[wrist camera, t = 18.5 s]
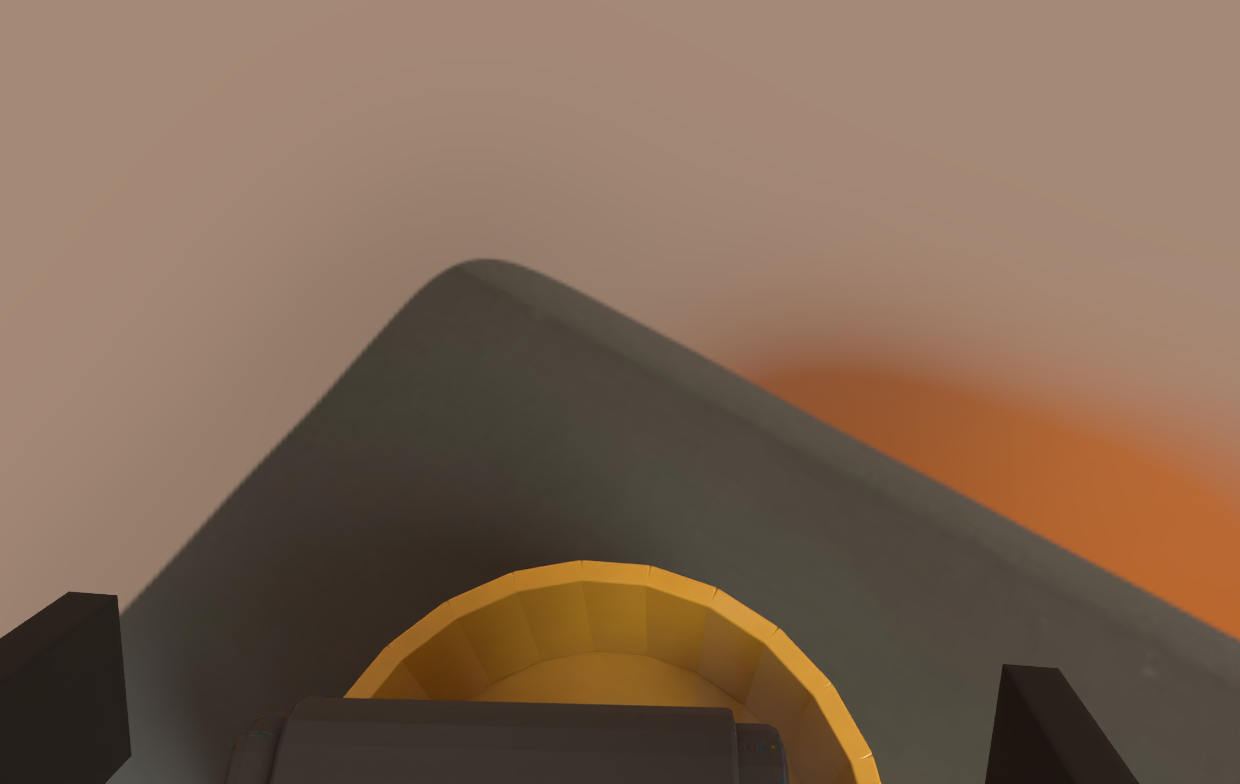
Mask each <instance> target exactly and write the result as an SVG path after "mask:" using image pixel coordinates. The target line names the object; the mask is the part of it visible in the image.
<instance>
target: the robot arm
mask: <svg viewBox="0 0 1240 784" xmlns="http://www.w3.org/2000/svg"><path fill="white" fill-rule="evenodd" d="M130 757H131V747H130V735H129V724H128V713H127V701H126V690H125V678H124V667H123V655H122V644H121V633H120V621H119V610H118V598H117V595H106V594H93V593H80V592H68V593H66V594H65V595H63V596H62V597H60V598H59V599H57V600H56V601H55V602H53V603H52V604H50V605H49V606H47V607H46V608H44V609H43V610H41V611H40V612H38V613H37V614H35V615H34V616H33V617H31V618H30V619H28V620H27V621H25V622H24V623H22V624H21V625H19V626H18V627H17V628H15V629H13V630H12V631H11V632H9V633H8V634H6V635H5V636H3V637H2V638H0V784H105V783H106V782H107V781H108V780H109V779H110V778H111V776H112V775H113V774H114V773H115V772H116V771H117V770H118V769H119V768H120V767H121V766H122V765H123V764H124V763H125V762H126V761H127V760H128V759H129V758H130ZM985 784H1139V783H1138V781H1137V780H1136V778H1135V777H1134V776H1133V774H1132V773H1131V771H1130V770H1129V768H1128V767H1127V766H1126V764H1125V763H1124V761H1123V760H1122V758H1121V757H1120V756H1119V754H1118V753H1117V751H1116V750H1115V749H1114V747H1113V746H1112V744H1111V743H1110V741H1109V740H1108V739H1107V737H1106V736H1105V734H1104V733H1103V731H1102V730H1101V729H1100V727H1099V726H1098V724H1097V723H1096V721H1095V720H1094V719H1093V717H1092V716H1091V714H1090V713H1089V712H1088V710H1087V709H1086V707H1085V706H1084V704H1083V703H1082V702H1081V700H1080V699H1079V697H1078V696H1077V694H1076V693H1075V692H1074V690H1073V689H1072V687H1071V686H1070V684H1069V683H1068V682H1067V680H1066V679H1065V677H1064V676H1063V674H1062V673H1061V672H1060V670H1059V669H1058V668H1046V667H1033V666H1020V665H1007V664H1003V667H1002V674H1001V681H1000V687H999V694H998V701H997V707H996V714H995V721H994V727H993V734H992V741H991V747H990V754H989V761H988V767H987V774H986V781H985Z"/></svg>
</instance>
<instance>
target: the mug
mask: <svg viewBox="0 0 1240 784" xmlns="http://www.w3.org/2000/svg"><path fill="white" fill-rule="evenodd" d="M343 698H372V699H411V700H450V701H489V702H528V703H567V704H606V705H646V706H685V707H724V708H729V709H731V710H732V712H733V716H734V720H735V723H760V724H768V725H770V726H772V727H774V728H776V729H777V730H778V732H779V734H780V737H781V739H782V742H783V745H784V747H785V751H786V756H787V761H788V768H789V784H881V781H880V777H879V774H878V770H877V767H876V764H875V760H874V757H873V756H871V755H872V752H871V750H870V748H869V747H868V745H867V743H866V741H865V740H864V738H863V736H862V734H861V733H860V731H859V729H858V727H857V726H856V724H855V722H854V720H853V719H852V717H851V715H850V713H849V712H848V710H847V708H846V707H845V705H844V703H843V701H842V700H841V698H840V696H839V694H838V693H837V691H836V689H835V687H834V686H833V685H832V684H831V682H830V681H829V680H828V678H827V677H826V676H825V675H824V674H823V673H822V672H821V671H820V670H819V669H818V668H817V667H816V666H815V665H814V664H813V663H812V662H811V661H810V659H809V658H808V657H807V656H806V655H805V654H804V653H803V652H802V651H801V650H800V649H799V648H798V647H797V646H796V645H795V644H794V643H793V642H792V640H791V639H790V638H789V637H788V636H787V635H786V634H785V633H784V632H783V631H782V630H781V629H780V628H778V627H777V626H776V625H774V624H773V623H771V622H770V621H768V620H767V619H765V618H764V617H762V616H760V615H759V614H757V613H756V612H754V611H753V610H751V609H750V608H748V607H746V606H745V605H743V604H742V603H740V602H739V601H737V600H736V599H734V598H732V597H731V596H729V595H728V594H726V593H725V592H723V591H721V590H720V589H716V587H714V586H711V585H708V584H705V583H702V582H699V581H696V580H693V579H690V578H687V577H684V576H681V575H678V574H675V573H672V572H669V571H666V570H663V569H660V568H657V567H654V566H651V567H650V566H649V565H640V564H627V563H613V562H600V561H587V560H582V561H581V560H577V561H571V562H566V563H560V564H554V565H548V566H542V567H537V568H531V569H525V570H519V571H514V572H513V573H509V574H506V575H504V576H502V577H500V578H497V579H495V580H493V581H490V582H488V583H486V584H484V585H481V586H479V587H477V588H474V589H472V590H470V591H468V592H465V593H463V594H461V595H458V596H456V597H454V598H452V599H449V600H448V601H447V602H444V603H443V604H441V605H440V606H439V607H437V608H436V609H435V610H433V611H432V612H431V613H429V614H428V615H427V616H425V617H424V618H423V619H421V620H420V621H419V622H417V623H416V624H415V625H413V626H412V627H411V628H409V629H408V630H407V631H406V632H404V633H403V634H402V635H400V636H399V637H398V638H396V639H395V640H394V641H392V642H391V643H390V644H388V647H385V648H384V649H383V650H382V652H381V653H380V654H379V655H378V656H377V658H376V659H375V660H374V661H373V662H372V664H371V665H370V666H369V667H368V668H367V670H366V671H365V672H364V673H363V674H362V676H361V677H360V678H359V679H358V680H357V682H356V683H355V684H354V685H353V686H352V688H351V689H350V690H349V691H348V692H347V694H346V695H345V696H344V697H343Z"/></svg>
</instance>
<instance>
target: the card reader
mask: <svg viewBox="0 0 1240 784" xmlns="http://www.w3.org/2000/svg"><path fill="white" fill-rule="evenodd" d="M224 784H789V768H788V761H787V756H786V751H785V747H784V745H783V742H782V739H781V737H780V734H779V732H778V730H777V729H776V728H774V727H772V726H770V725H768V724H760V723H735V720H734V716H733V712H732V710H731V709H729V708H724V707H685V706H646V705H606V704H567V703H528V702H489V701H450V700H411V699H372V698H333V697H306V698H304V699H303V700H301V701H300V702H299V703H298V704H296V705H295V706H294V707H293V708H292V710H291V711H268V712H266V713H264V714H261V715H259V716H257V717H256V718H254V719H253V720H251V721H250V722H248V724H247V726H246V727H245V729H244V730H243V732H242V733H241V735H240V736H239V738H238V740H237V742H236V743H235V745H234V747H233V749H232V751H231V755H230V759H229V764H228V768H227V772H226V777H225V781H224Z"/></svg>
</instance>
